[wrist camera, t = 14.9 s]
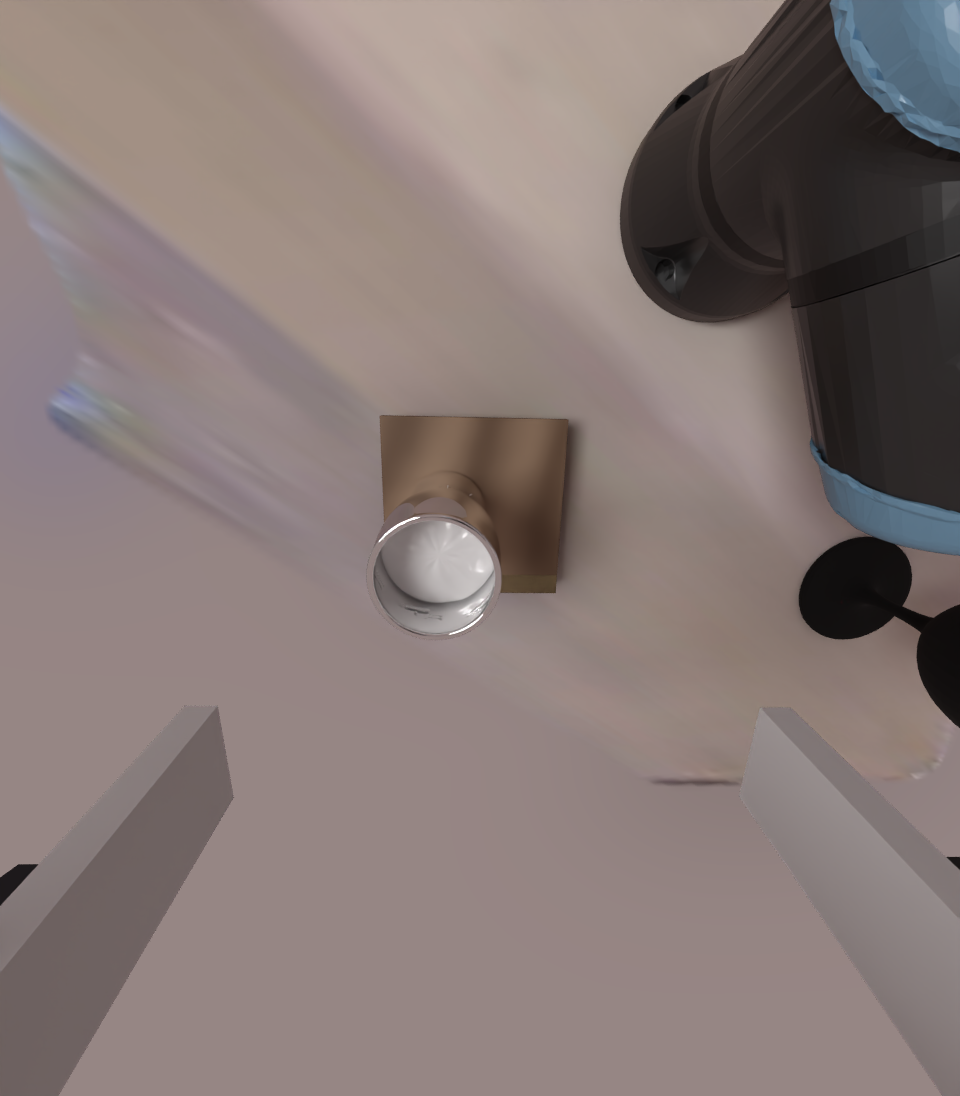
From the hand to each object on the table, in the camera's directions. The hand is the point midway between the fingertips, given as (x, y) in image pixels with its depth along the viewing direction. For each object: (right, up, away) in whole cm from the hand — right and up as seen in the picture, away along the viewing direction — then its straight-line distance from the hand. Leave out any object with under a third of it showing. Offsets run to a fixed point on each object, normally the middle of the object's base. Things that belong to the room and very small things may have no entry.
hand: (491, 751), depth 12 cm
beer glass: (-3, +8, +26) cm, 27 cm away
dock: (-1, +9, +29) cm, 31 cm away
